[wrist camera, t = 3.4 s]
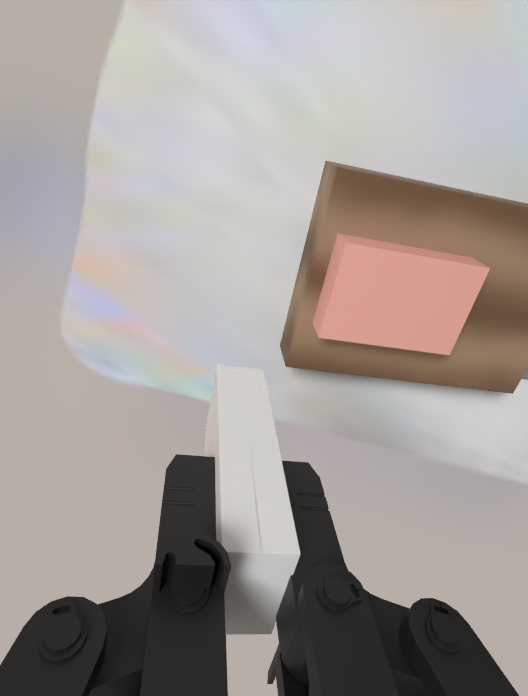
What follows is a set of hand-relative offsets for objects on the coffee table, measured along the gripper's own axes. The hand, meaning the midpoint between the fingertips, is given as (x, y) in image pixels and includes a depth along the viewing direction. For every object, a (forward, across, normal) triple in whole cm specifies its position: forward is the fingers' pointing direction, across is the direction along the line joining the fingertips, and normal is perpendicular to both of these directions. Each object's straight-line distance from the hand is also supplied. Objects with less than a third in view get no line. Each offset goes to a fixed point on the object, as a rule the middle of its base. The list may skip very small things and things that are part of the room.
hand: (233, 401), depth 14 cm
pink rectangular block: (+13, +11, 0) cm, 17 cm away
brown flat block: (+16, +14, 0) cm, 22 cm away
